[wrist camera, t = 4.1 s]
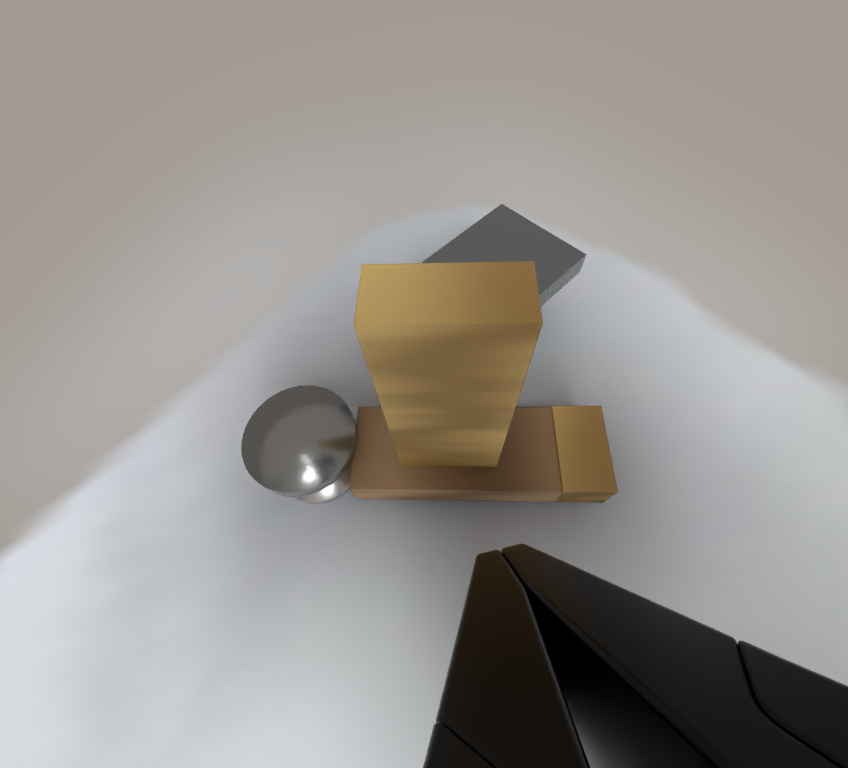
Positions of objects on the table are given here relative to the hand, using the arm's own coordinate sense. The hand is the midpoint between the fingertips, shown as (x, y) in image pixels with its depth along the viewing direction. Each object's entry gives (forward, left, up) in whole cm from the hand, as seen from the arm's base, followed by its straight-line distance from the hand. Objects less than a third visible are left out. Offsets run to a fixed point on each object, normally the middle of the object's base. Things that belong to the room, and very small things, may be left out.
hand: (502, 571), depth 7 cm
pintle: (+3, +7, -9) cm, 12 cm away
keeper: (+12, +2, -9) cm, 15 cm away
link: (+5, +1, -8) cm, 9 cm away
